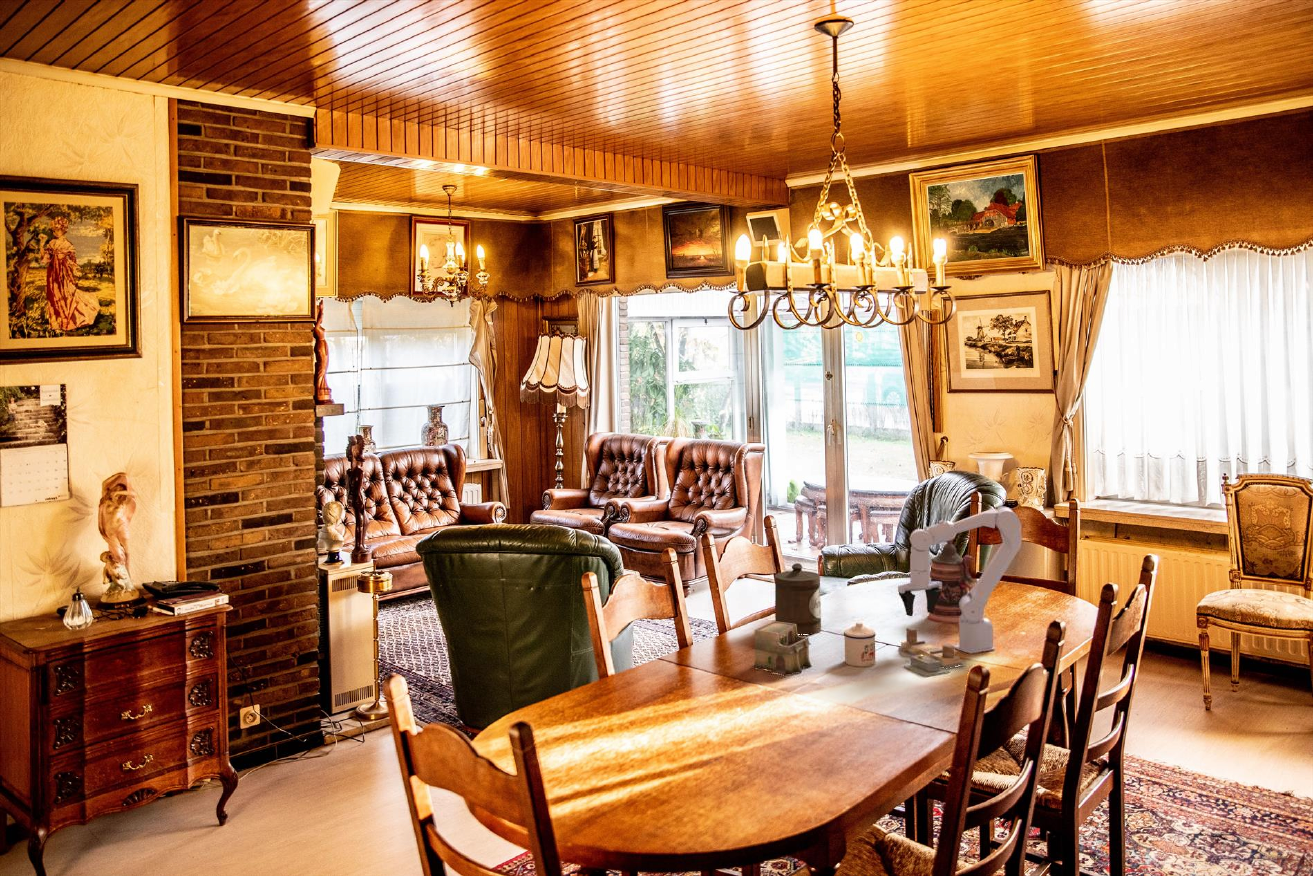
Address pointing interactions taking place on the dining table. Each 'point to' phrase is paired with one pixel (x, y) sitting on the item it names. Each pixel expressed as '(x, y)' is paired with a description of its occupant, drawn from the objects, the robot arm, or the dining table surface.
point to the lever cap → (925, 663)
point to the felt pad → (924, 671)
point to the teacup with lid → (859, 646)
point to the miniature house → (781, 648)
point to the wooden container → (798, 599)
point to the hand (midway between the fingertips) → (920, 614)
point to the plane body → (930, 650)
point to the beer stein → (950, 583)
